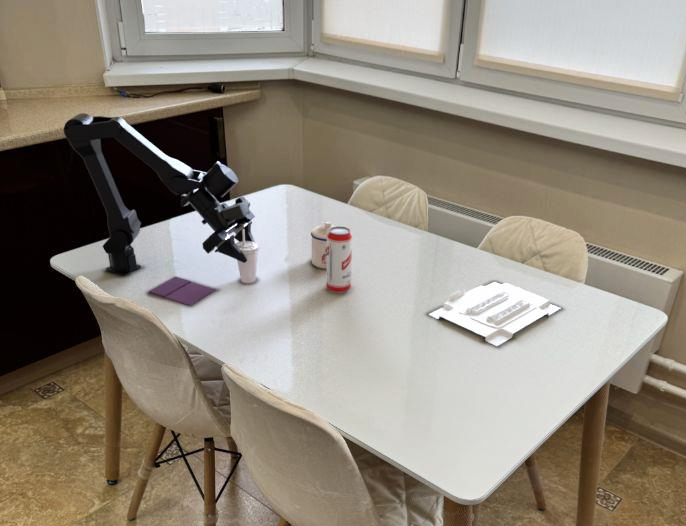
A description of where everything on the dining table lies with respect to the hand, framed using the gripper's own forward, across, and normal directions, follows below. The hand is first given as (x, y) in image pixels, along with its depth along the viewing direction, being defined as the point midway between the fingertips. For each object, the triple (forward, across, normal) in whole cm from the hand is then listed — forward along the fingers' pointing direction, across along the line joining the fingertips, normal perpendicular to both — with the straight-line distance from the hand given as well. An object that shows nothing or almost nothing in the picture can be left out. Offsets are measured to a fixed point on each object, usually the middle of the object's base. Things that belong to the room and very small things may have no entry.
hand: (251, 257), depth 176 cm
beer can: (+20, +4, -11) cm, 24 cm away
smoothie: (+4, 0, +6) cm, 7 cm away
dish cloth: (-5, -12, +14) cm, 19 cm away
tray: (+49, +8, -39) cm, 63 cm away
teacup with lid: (+15, +20, -5) cm, 25 cm away
